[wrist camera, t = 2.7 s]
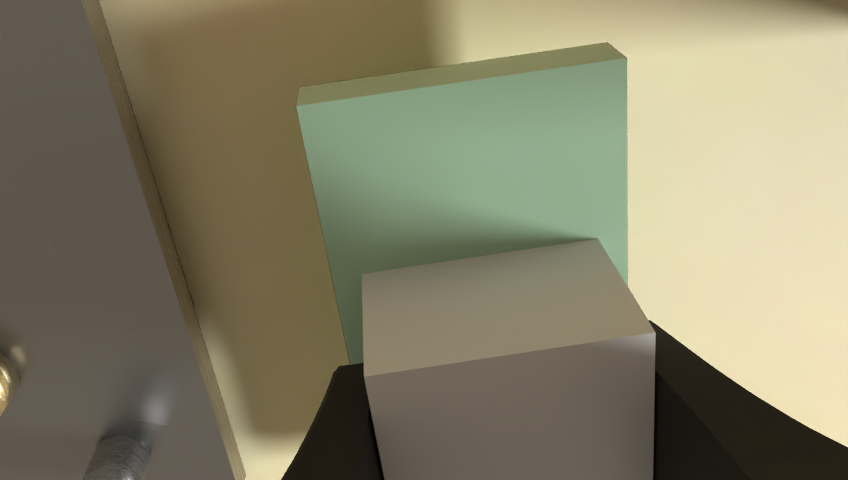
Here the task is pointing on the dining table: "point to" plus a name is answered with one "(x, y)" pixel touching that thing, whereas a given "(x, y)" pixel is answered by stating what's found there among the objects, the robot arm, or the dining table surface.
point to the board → (467, 160)
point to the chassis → (91, 274)
